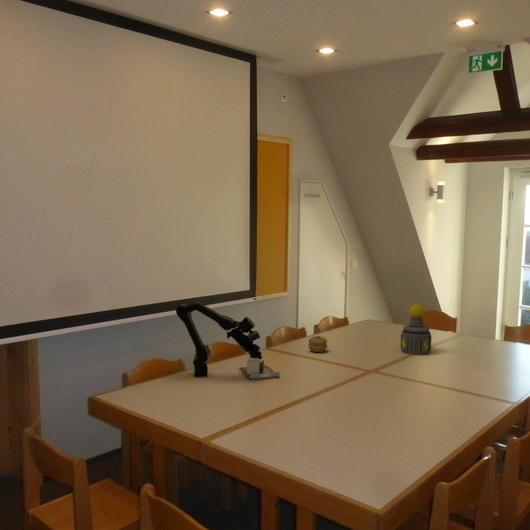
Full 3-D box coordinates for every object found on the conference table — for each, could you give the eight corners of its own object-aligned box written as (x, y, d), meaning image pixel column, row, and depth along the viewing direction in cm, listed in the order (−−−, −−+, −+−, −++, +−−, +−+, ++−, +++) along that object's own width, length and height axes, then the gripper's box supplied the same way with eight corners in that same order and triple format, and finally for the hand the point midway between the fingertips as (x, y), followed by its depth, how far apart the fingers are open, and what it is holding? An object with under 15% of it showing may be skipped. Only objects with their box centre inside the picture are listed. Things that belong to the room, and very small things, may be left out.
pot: (306, 353, 351) (306, 337, 350) (310, 348, 362) (310, 333, 361) (325, 354, 347) (325, 338, 346) (328, 350, 358) (328, 334, 358)
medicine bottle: (259, 375, 297) (259, 352, 296) (246, 374, 300) (246, 351, 299) (263, 372, 304) (264, 350, 303) (251, 370, 306) (251, 348, 305)
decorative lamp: (393, 349, 361) (395, 302, 358) (417, 347, 369) (419, 301, 366) (413, 356, 344) (415, 307, 341) (437, 353, 352) (439, 305, 349)
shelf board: (250, 380, 292) (250, 378, 292) (238, 369, 313) (238, 367, 313) (279, 378, 297) (279, 376, 297) (266, 367, 318) (266, 365, 318)
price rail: (250, 378, 292) (250, 374, 292) (249, 377, 294) (249, 374, 294) (279, 376, 297) (279, 372, 297) (278, 375, 299) (278, 371, 299)
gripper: (256, 330, 290) (276, 350, 295) (245, 323, 307) (264, 342, 312) (241, 346, 288) (261, 366, 293) (231, 338, 305) (250, 357, 310)
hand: (259, 357), depth 302 cm, fingers closed on medicine bottle, 6 cm apart
